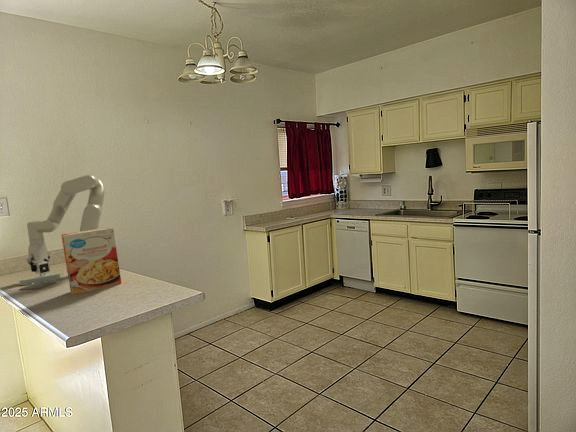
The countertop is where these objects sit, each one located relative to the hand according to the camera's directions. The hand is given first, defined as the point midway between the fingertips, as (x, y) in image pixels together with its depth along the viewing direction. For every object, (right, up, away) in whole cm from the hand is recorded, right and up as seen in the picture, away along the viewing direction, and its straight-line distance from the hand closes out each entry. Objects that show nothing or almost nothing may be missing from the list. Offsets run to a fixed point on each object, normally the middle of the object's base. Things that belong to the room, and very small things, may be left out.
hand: (40, 269), depth 234 cm
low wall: (+5, -6, -8) cm, 12 cm away
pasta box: (+50, -5, -32) cm, 59 cm away
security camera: (+1, -6, +1) cm, 6 cm away
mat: (+9, -7, -17) cm, 21 cm away
